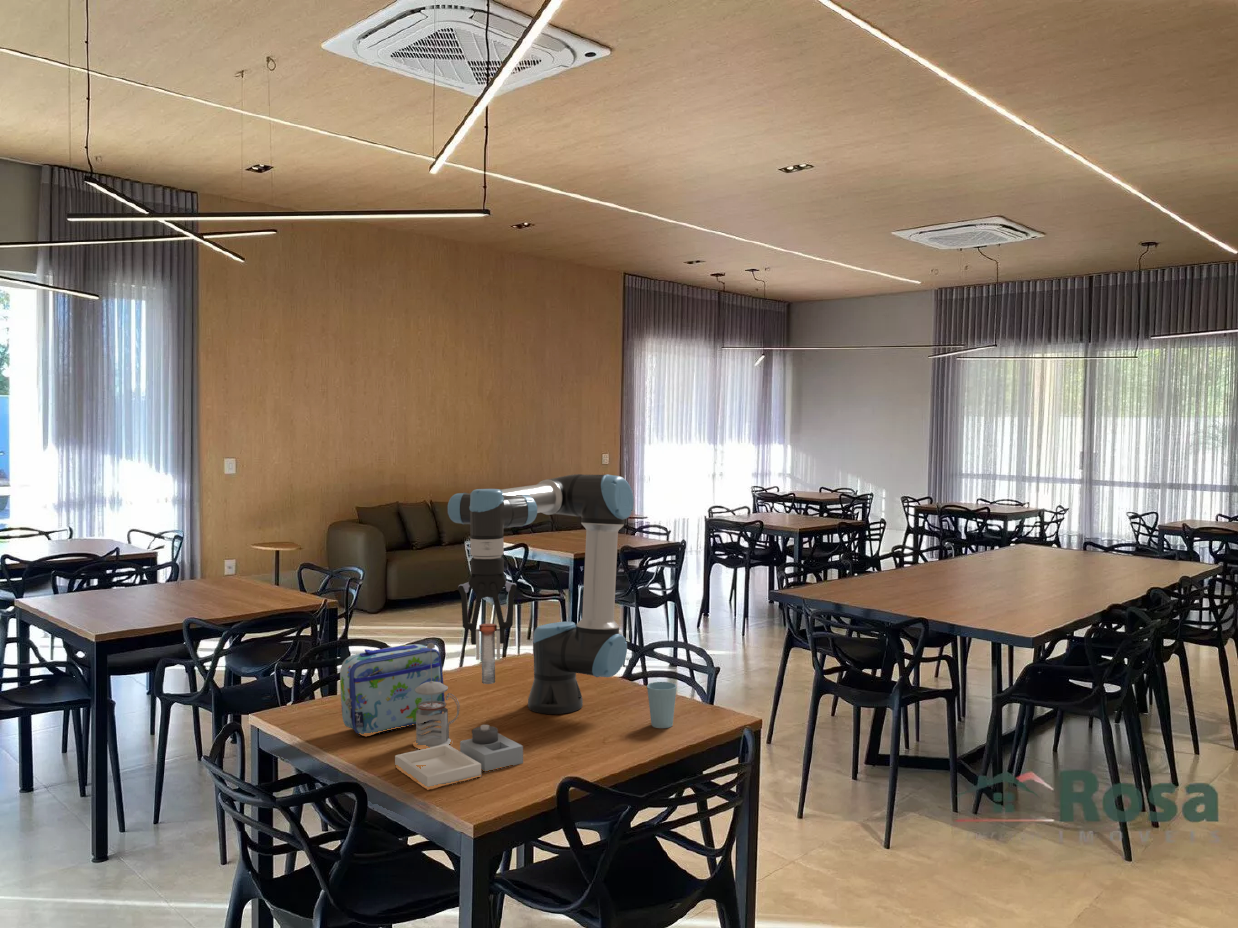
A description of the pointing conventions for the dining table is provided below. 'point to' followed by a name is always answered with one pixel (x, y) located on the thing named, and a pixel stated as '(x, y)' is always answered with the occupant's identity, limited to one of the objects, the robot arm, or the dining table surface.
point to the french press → (425, 708)
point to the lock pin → (488, 652)
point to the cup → (661, 703)
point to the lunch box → (387, 686)
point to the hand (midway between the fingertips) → (488, 657)
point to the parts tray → (438, 765)
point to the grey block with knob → (491, 748)
